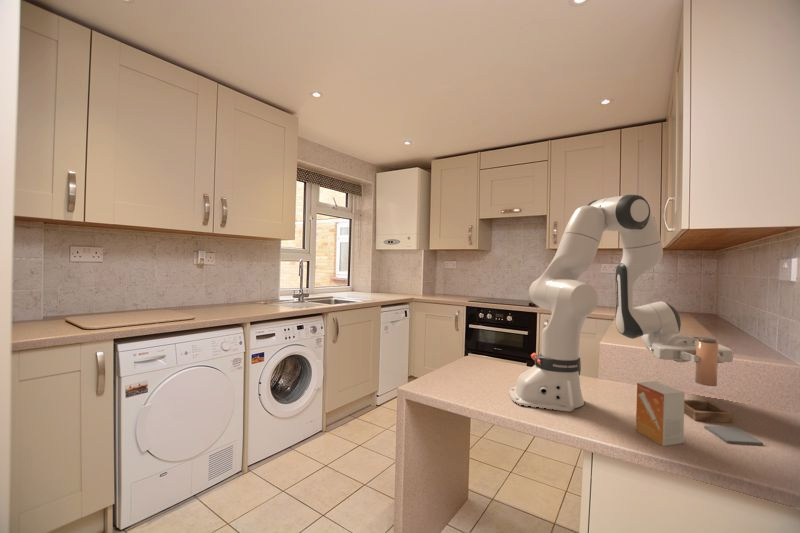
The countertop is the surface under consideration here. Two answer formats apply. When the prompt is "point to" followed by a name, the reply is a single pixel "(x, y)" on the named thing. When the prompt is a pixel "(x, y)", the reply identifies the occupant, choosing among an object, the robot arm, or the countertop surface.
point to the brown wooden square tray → (711, 415)
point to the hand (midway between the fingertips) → (709, 359)
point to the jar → (706, 361)
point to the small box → (660, 412)
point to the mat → (733, 435)
